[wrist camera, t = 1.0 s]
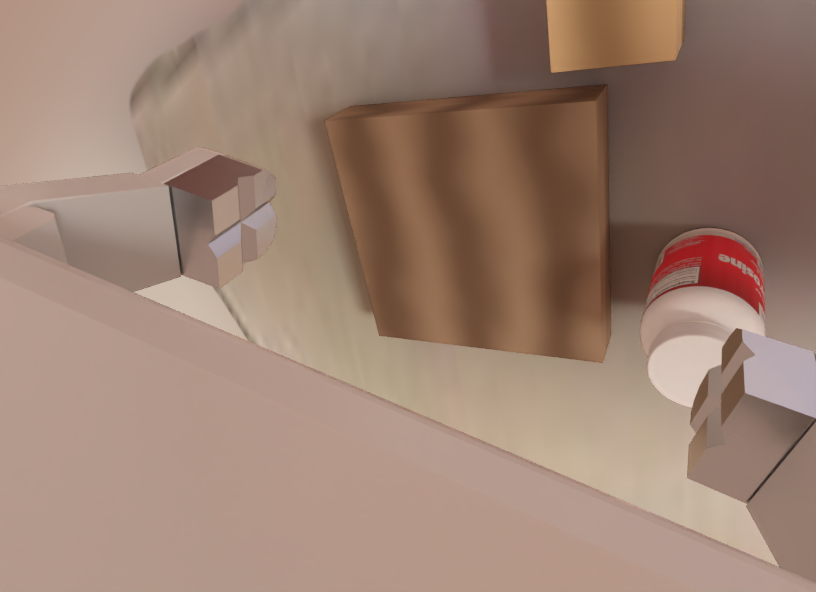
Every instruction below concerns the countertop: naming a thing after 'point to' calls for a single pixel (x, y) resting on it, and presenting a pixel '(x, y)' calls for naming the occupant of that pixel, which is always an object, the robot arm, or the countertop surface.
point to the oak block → (613, 32)
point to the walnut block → (484, 218)
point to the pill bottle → (699, 307)
